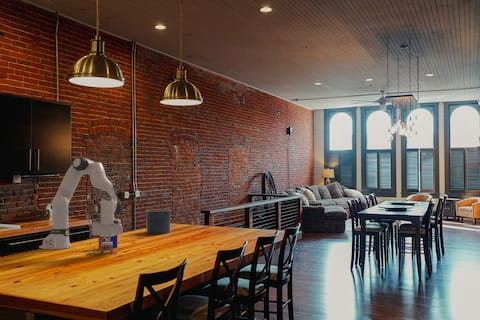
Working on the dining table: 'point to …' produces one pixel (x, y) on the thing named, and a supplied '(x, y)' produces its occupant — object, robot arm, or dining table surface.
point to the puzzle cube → (112, 239)
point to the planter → (158, 221)
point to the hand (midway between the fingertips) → (107, 241)
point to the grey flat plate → (100, 253)
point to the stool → (106, 245)
